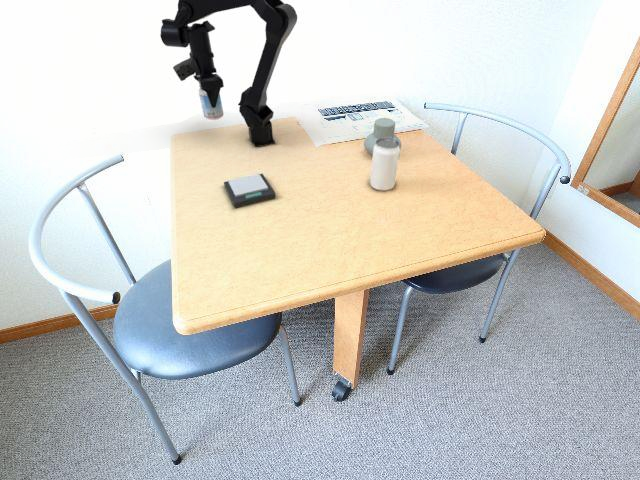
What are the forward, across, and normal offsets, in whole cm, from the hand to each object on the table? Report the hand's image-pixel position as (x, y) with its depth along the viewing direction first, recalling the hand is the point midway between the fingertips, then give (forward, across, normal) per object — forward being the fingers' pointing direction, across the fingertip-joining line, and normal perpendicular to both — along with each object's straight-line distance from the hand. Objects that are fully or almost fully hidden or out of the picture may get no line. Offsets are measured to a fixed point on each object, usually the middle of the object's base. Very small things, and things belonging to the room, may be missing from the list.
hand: (211, 103), depth 114 cm
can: (+10, +48, +33) cm, 60 cm away
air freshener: (+10, +33, +42) cm, 55 cm away
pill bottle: (+4, 0, 0) cm, 4 cm away
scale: (+10, +37, 0) cm, 39 cm away
